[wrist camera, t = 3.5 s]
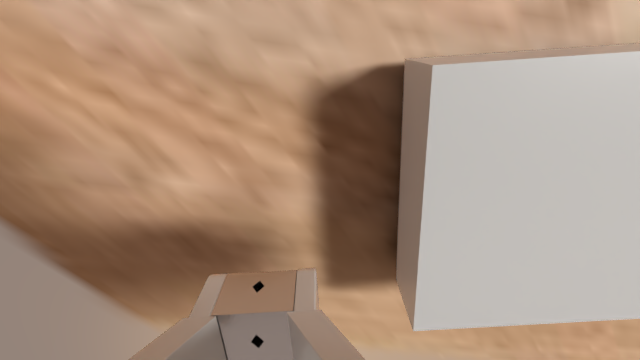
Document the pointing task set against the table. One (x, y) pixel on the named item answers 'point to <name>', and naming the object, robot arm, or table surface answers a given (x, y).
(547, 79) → the grey square tile
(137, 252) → the table surface
